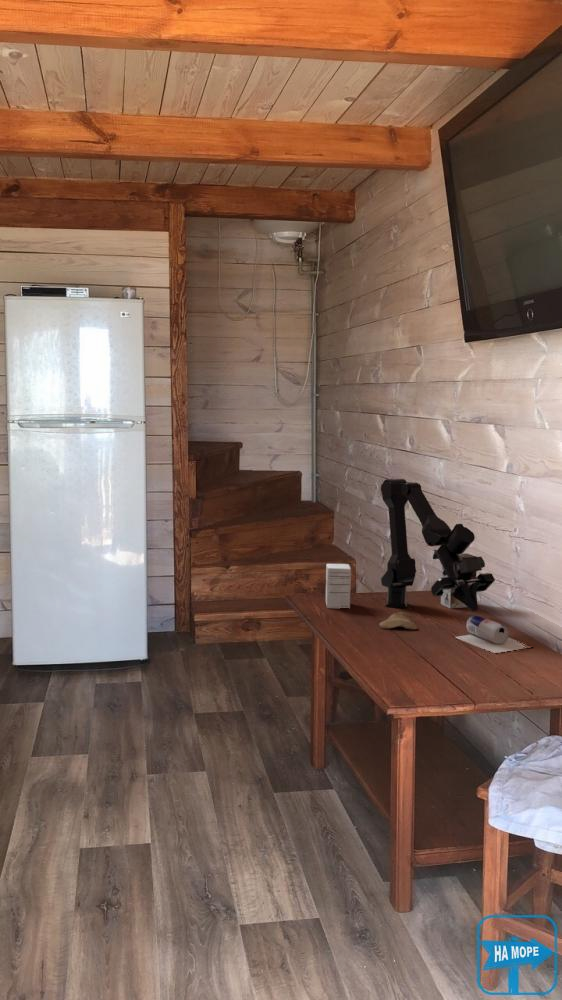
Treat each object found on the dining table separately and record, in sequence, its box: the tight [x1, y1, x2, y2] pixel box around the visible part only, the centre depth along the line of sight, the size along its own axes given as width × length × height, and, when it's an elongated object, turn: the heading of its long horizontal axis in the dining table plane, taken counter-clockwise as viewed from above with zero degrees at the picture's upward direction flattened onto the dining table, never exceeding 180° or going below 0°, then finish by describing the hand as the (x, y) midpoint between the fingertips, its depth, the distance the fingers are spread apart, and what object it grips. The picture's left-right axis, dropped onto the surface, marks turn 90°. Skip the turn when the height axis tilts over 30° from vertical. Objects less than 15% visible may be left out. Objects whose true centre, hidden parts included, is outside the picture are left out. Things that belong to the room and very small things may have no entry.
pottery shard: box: [379, 611, 419, 631], centre depth 248 cm, size 11×4×10 cm
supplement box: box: [325, 563, 352, 609], centre depth 269 cm, size 7×7×13 cm
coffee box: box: [440, 552, 478, 609], centre depth 272 cm, size 9×6×16 cm
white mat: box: [455, 634, 526, 654], centre depth 232 cm, size 16×13×1 cm
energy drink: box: [465, 614, 510, 644], centre depth 235 cm, size 5×5×12 cm
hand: (476, 610), depth 238 cm, fingers closed
